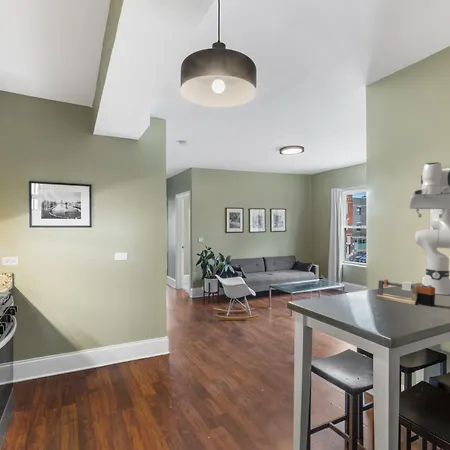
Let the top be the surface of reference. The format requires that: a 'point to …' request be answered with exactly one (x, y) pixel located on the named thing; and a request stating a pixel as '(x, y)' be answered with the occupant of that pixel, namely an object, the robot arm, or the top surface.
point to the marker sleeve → (406, 286)
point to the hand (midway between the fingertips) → (430, 217)
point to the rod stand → (393, 297)
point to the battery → (426, 295)
